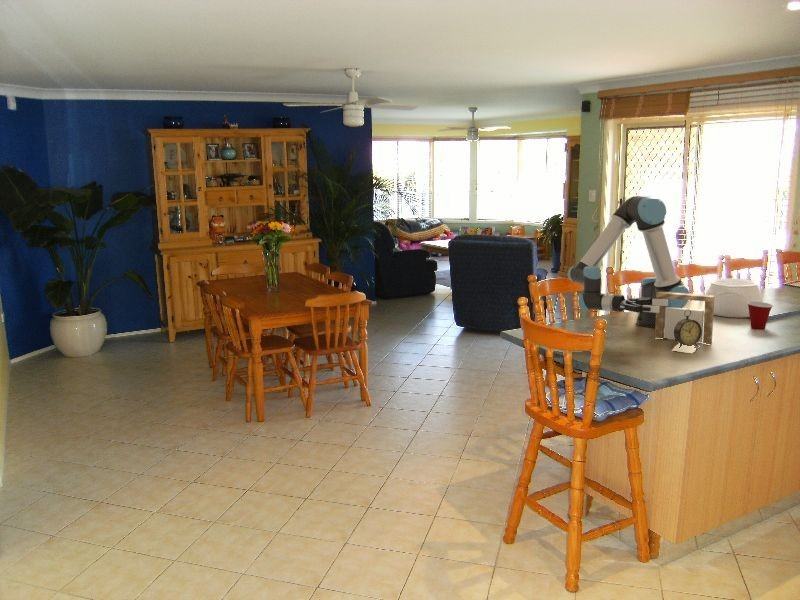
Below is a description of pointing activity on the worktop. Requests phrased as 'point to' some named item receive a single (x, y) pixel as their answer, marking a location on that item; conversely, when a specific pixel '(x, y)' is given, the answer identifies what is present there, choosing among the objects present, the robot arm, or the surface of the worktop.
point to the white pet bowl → (733, 296)
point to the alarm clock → (687, 331)
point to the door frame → (697, 297)
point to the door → (676, 315)
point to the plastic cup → (759, 314)
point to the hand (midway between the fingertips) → (663, 306)
